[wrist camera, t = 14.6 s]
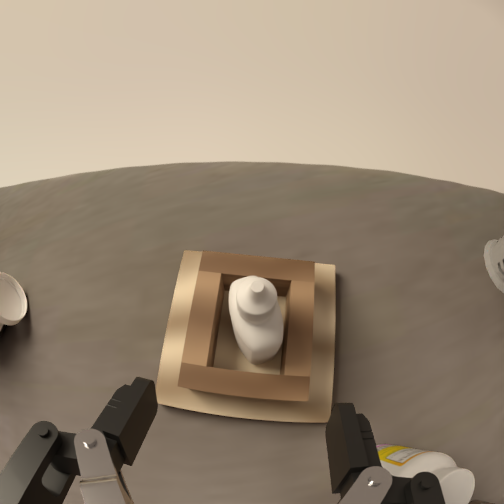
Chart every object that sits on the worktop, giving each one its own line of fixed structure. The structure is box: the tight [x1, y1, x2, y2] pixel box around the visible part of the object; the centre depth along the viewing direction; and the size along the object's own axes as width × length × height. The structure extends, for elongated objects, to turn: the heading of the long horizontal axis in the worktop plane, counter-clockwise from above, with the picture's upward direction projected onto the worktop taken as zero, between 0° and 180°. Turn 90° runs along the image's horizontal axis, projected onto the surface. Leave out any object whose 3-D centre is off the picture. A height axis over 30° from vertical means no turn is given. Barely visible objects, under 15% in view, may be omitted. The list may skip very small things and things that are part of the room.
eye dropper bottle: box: [229, 276, 283, 365], centre depth 21 cm, size 4×6×12 cm
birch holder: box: [156, 250, 335, 422], centre depth 25 cm, size 16×16×6 cm
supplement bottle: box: [376, 444, 475, 504], centre depth 14 cm, size 7×7×13 cm
